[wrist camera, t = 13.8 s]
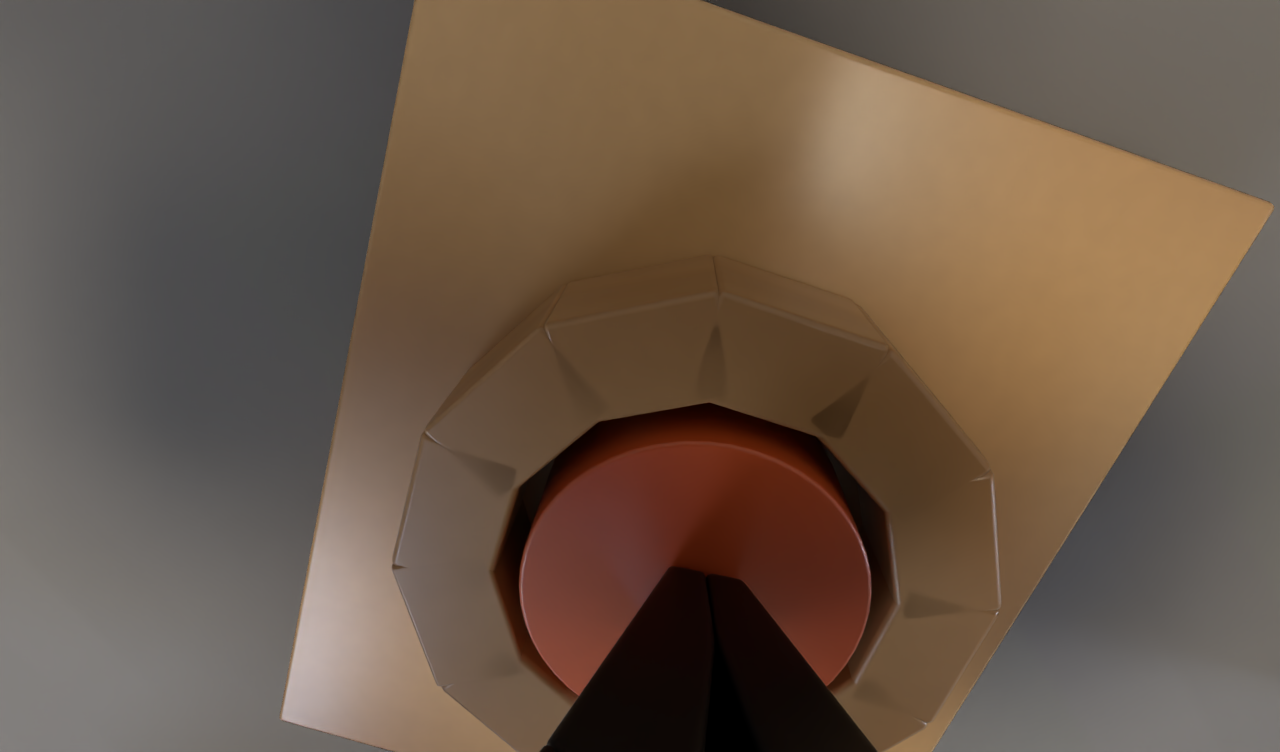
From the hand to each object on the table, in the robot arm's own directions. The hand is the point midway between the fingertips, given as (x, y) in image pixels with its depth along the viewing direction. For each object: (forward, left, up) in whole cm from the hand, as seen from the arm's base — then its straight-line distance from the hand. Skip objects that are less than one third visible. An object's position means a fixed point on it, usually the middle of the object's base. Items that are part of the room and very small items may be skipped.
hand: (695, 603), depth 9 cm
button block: (0, 0, -4) cm, 4 cm away
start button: (0, 0, -2) cm, 2 cm away
